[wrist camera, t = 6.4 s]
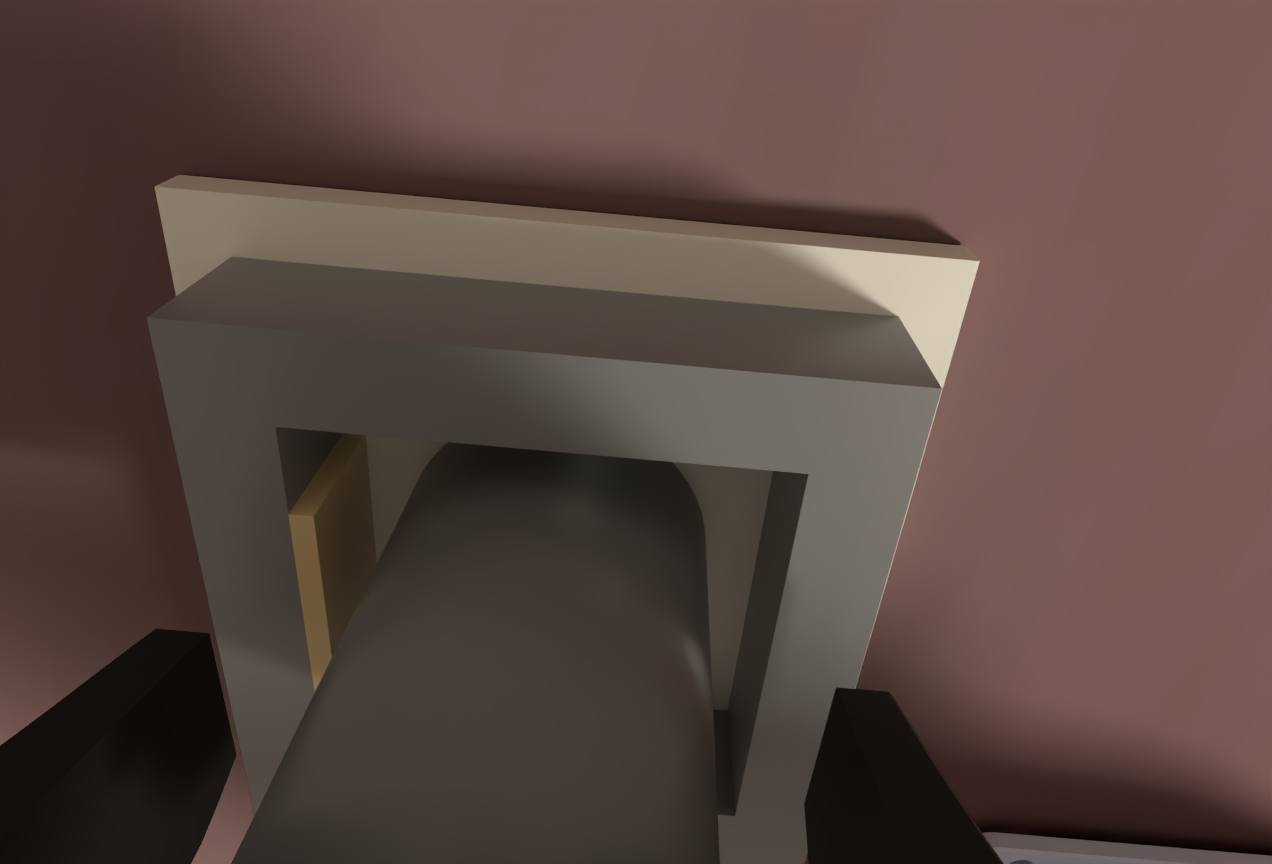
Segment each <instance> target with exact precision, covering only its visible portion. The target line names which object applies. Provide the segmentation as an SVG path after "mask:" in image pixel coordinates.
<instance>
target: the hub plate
mask: <svg viewBox="0 0 1272 864" xmlns="http://www.w3.org/2000/svg"><path fill="white" fill-rule="evenodd" d="M155 192H156V197H157V202H158V207H159V212H160V217H161V222H162V227H163V233H164V238H165V243H166V248H167V253H168V258H169V263H170V268H171V273H172V278H173V283H174V289H175V294H176V297H174V298H173V299H172V300H170V301H169V302H168V303H166V304H165V305H163V306H162V307H161V308H159V309H158V310H156V311H155V312H154V313H152V314H151V315H149V316H148V317H147V323H148V327H149V332H150V336H151V341H152V346H153V350H154V355H155V359H156V364H157V369H158V373H159V378H160V382H161V387H162V392H163V396H164V401H165V405H166V410H167V415H168V419H169V424H170V428H171V433H172V438H173V442H174V447H175V451H176V456H177V461H178V465H179V470H180V474H181V479H182V484H183V488H184V493H185V497H186V502H187V507H188V511H189V516H190V520H191V525H192V530H193V534H194V539H195V543H196V548H197V553H198V557H199V562H200V566H201V571H202V576H203V580H204V585H205V589H206V594H207V599H208V603H209V608H210V612H211V617H212V622H213V626H214V631H215V635H216V640H217V645H218V649H219V654H220V658H221V663H222V668H223V672H224V677H225V681H226V686H227V691H228V695H229V700H230V704H231V709H232V713H233V718H234V723H235V727H236V732H237V736H238V741H239V746H240V750H241V755H242V759H243V764H244V769H245V773H246V778H247V782H248V787H249V792H250V796H251V801H252V805H253V810H254V815H255V814H256V812H257V810H258V808H259V806H260V804H261V802H262V800H263V798H264V796H265V794H266V792H267V790H268V787H269V785H270V783H271V781H272V779H273V777H274V775H275V773H276V771H277V769H278V767H279V765H280V763H281V761H282V759H283V757H284V755H285V753H286V750H287V748H288V746H289V744H290V742H291V740H292V738H293V736H294V734H295V732H296V730H297V728H298V726H299V724H300V722H301V720H302V718H303V716H304V713H305V711H306V709H307V707H308V705H309V703H310V701H311V699H312V697H313V695H314V693H315V691H316V689H317V687H318V685H319V683H320V681H321V679H322V676H323V674H324V672H325V670H326V668H327V666H328V664H329V662H330V660H331V658H332V656H333V654H334V652H335V650H336V648H337V646H338V644H339V642H340V639H341V637H342V635H343V633H344V631H345V629H346V627H347V625H348V623H349V621H350V619H351V617H352V615H353V613H354V611H355V609H356V607H357V605H358V602H359V600H360V598H361V596H362V594H363V592H364V590H365V588H366V586H367V584H368V582H369V580H370V578H371V576H372V574H373V572H374V570H375V568H376V565H377V563H378V561H379V559H380V557H381V555H382V553H383V551H384V549H385V547H386V545H387V543H388V541H389V539H390V537H391V535H392V533H393V531H394V529H395V526H396V524H397V522H398V520H399V518H400V516H401V514H402V512H403V510H404V508H405V506H406V504H407V502H408V500H409V498H410V496H411V494H412V492H413V489H414V487H415V485H416V483H417V481H418V479H419V477H420V475H421V473H422V472H423V470H424V469H425V467H426V466H427V464H428V463H429V461H430V460H431V459H432V458H433V457H434V456H435V455H436V453H437V452H438V451H439V450H440V449H441V448H442V447H443V446H444V445H446V444H447V443H448V442H452V443H463V444H474V445H486V446H497V447H508V448H520V449H531V450H542V451H554V452H565V453H576V454H588V455H599V456H610V457H622V458H633V459H644V460H656V461H667V462H672V463H673V464H674V465H675V466H676V467H677V468H678V469H679V471H680V472H681V473H682V475H683V476H684V478H685V479H686V480H687V482H688V483H689V485H690V487H691V489H692V491H693V493H694V494H695V496H696V498H697V501H698V504H699V507H700V510H701V513H702V516H703V522H704V527H705V540H706V562H707V585H708V607H709V630H710V652H711V674H712V697H713V719H714V742H715V764H716V787H717V809H718V831H719V854H720V864H804V863H805V860H806V856H807V853H808V849H807V835H806V822H805V808H804V802H805V799H806V795H807V791H808V788H809V784H810V780H811V777H812V773H813V769H814V766H815V762H816V758H817V755H818V751H819V748H820V744H821V740H822V737H823V733H824V729H825V726H826V722H827V718H828V715H829V711H830V707H831V704H832V700H833V696H834V693H835V689H836V687H838V688H849V689H856V686H857V682H858V679H859V675H860V672H861V668H862V665H863V661H864V658H865V655H866V651H867V648H868V644H869V641H870V637H871V634H872V630H873V627H874V624H875V620H876V617H877V613H878V610H879V606H880V603H881V599H882V596H883V593H884V589H885V586H886V582H887V579H888V575H889V572H890V568H891V565H892V562H893V558H894V555H895V551H896V548H897V544H898V541H899V537H900V534H901V531H902V527H903V524H904V520H905V517H906V513H907V510H908V506H909V503H910V500H911V496H912V493H913V489H914V486H915V482H916V479H917V475H918V472H919V469H920V465H921V462H922V458H923V455H924V451H925V448H926V444H927V441H928V438H929V434H930V431H931V427H932V424H933V420H934V417H935V413H936V410H937V407H938V403H939V400H940V396H941V393H942V389H943V386H944V382H945V379H946V376H947V372H948V369H949V365H950V362H951V358H952V355H953V351H954V348H955V345H956V341H957V338H958V334H959V331H960V327H961V324H962V320H963V317H964V314H965V310H966V307H967V303H968V300H969V296H970V293H971V289H972V286H973V283H974V279H975V276H976V272H977V269H978V265H979V262H980V261H979V260H978V259H977V258H976V257H975V256H974V255H973V254H972V253H971V252H970V251H969V250H968V249H967V247H966V246H960V245H949V244H938V243H927V242H916V241H905V240H894V239H883V238H872V237H861V236H850V235H839V234H828V233H817V232H806V231H794V230H783V229H772V228H761V227H750V226H739V225H728V224H717V223H706V222H695V221H684V220H673V219H662V218H651V217H640V216H629V215H618V214H607V213H596V212H585V211H574V210H563V209H552V208H541V207H530V206H519V205H508V204H497V203H486V202H475V201H464V200H453V199H441V198H430V197H419V196H408V195H397V194H386V193H375V192H364V191H353V190H342V189H331V188H320V187H309V186H298V185H287V184H276V183H265V182H254V181H243V180H232V179H221V178H210V177H199V176H188V175H178V176H176V177H173V178H171V179H169V180H167V181H165V182H163V183H161V184H159V185H157V186H155Z"/></svg>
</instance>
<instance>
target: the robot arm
mask: <svg viewBox="0 0 1272 864" xmlns="http://www.w3.org/2000/svg"><path fill="white" fill-rule="evenodd" d="M235 757H236V752H235V747H234V743H233V738H232V734H231V729H230V725H229V720H228V716H227V711H226V707H225V702H224V698H223V693H222V689H221V684H220V680H219V675H218V671H217V666H216V662H215V657H214V653H213V648H212V644H211V639H210V635H209V633H199V632H187V631H176V630H164V629H155V630H154V631H152V632H151V633H150V634H148V635H147V636H146V637H144V638H143V639H141V640H140V641H139V642H137V643H136V644H135V645H133V646H132V647H131V648H129V649H128V650H127V651H125V652H124V653H123V654H121V655H120V656H119V657H117V658H116V659H115V660H113V661H112V662H111V663H109V664H108V665H107V666H105V667H104V668H103V669H102V670H100V671H99V672H98V673H96V674H95V675H94V676H92V677H91V678H90V679H88V680H87V681H86V682H85V683H83V684H82V685H81V686H79V687H78V688H77V689H75V690H74V691H73V692H71V693H70V694H69V695H67V696H66V697H65V698H64V699H62V700H61V701H60V702H58V703H57V704H56V705H54V706H53V707H52V708H50V709H49V710H48V711H46V712H45V713H44V714H42V715H41V716H40V717H38V718H37V719H36V720H34V721H33V722H32V723H30V724H29V725H28V726H26V727H25V728H24V729H22V730H21V731H20V732H18V733H17V734H16V735H14V736H13V737H11V738H10V739H9V740H7V741H6V742H5V743H3V744H2V745H1V746H0V864H191V862H192V861H193V859H194V857H195V855H196V853H197V851H198V849H199V847H200V845H201V843H202V841H203V838H204V836H205V833H206V831H207V829H208V826H209V824H210V821H211V819H212V816H213V814H214V812H215V809H216V807H217V804H218V802H219V799H220V797H221V794H222V791H223V789H224V786H225V784H226V781H227V778H228V776H229V773H230V770H231V768H232V765H233V763H234V760H235ZM804 808H805V822H806V835H807V849H808V861H809V864H1272V856H1270V855H1258V854H1246V853H1235V852H1223V851H1211V850H1199V849H1187V848H1176V847H1164V846H1152V845H1140V844H1128V843H1117V842H1105V841H1093V840H1081V839H1069V838H1058V837H1046V836H1034V835H1022V834H1010V833H999V832H984V833H982V832H981V831H980V829H979V828H978V826H977V825H976V823H975V822H974V820H973V819H972V817H971V816H970V814H969V813H968V812H967V810H966V809H965V807H964V806H963V804H962V803H961V801H960V800H959V798H958V797H957V795H956V794H955V792H954V791H953V789H952V787H951V786H950V784H949V783H948V781H947V780H946V778H945V777H944V775H943V774H942V772H941V771H940V769H939V768H938V766H937V765H936V763H935V761H934V760H933V758H932V757H931V755H930V754H929V752H928V751H927V749H926V747H925V746H924V744H923V743H922V741H921V740H920V738H919V736H918V735H917V733H916V732H915V730H914V728H913V727H912V725H911V724H910V722H909V721H908V719H907V717H906V716H905V714H904V713H903V711H902V709H901V708H900V706H899V705H898V703H897V701H896V700H895V699H894V697H893V696H892V695H891V694H890V693H889V692H884V691H873V690H861V689H849V688H838V687H836V689H835V693H834V696H833V700H832V704H831V707H830V711H829V715H828V718H827V722H826V726H825V729H824V733H823V737H822V740H821V744H820V748H819V751H818V755H817V758H816V762H815V766H814V769H813V773H812V777H811V780H810V784H809V788H808V791H807V795H806V799H805V802H804Z"/></svg>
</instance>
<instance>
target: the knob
mask: <svg viewBox="0 0 1272 864" xmlns="http://www.w3.org/2000/svg"><path fill="white" fill-rule="evenodd" d="M231 864H720V854H719V831H718V809H717V787H716V764H715V742H714V719H713V697H712V674H711V652H710V630H709V607H708V585H707V562H706V540H705V527H704V522H703V516H702V513H701V510H700V507H699V504H698V501H697V498H696V496H695V494H694V493H693V491H692V489H691V487H690V485H689V483H688V482H687V480H686V479H685V478H684V476H683V475H682V473H681V472H680V471H679V469H678V468H677V467H676V466H675V465H674V464H673V463H672V462H667V461H656V460H644V459H633V458H622V457H610V456H599V455H588V454H576V453H565V452H554V451H542V450H531V449H520V448H508V447H497V446H486V445H474V444H463V443H452V442H448V443H447V444H446V445H444V446H443V447H442V448H441V449H440V450H439V451H438V452H437V453H436V455H435V456H434V457H433V458H432V459H431V460H430V461H429V463H428V464H427V466H426V467H425V469H424V470H423V472H422V473H421V475H420V477H419V479H418V481H417V483H416V485H415V487H414V489H413V492H412V494H411V496H410V498H409V500H408V502H407V504H406V506H405V508H404V510H403V512H402V514H401V516H400V518H399V520H398V522H397V524H396V526H395V529H394V531H393V533H392V535H391V537H390V539H389V541H388V543H387V545H386V547H385V549H384V551H383V553H382V555H381V557H380V559H379V561H378V563H377V565H376V568H375V570H374V572H373V574H372V576H371V578H370V580H369V582H368V584H367V586H366V588H365V590H364V592H363V594H362V596H361V598H360V600H359V602H358V605H357V607H356V609H355V611H354V613H353V615H352V617H351V619H350V621H349V623H348V625H347V627H346V629H345V631H344V633H343V635H342V637H341V639H340V642H339V644H338V646H337V648H336V650H335V652H334V654H333V656H332V658H331V660H330V662H329V664H328V666H327V668H326V670H325V672H324V674H323V676H322V679H321V681H320V683H319V685H318V687H317V689H316V691H315V693H314V695H313V697H312V699H311V701H310V703H309V705H308V707H307V709H306V711H305V713H304V716H303V718H302V720H301V722H300V724H299V726H298V728H297V730H296V732H295V734H294V736H293V738H292V740H291V742H290V744H289V746H288V748H287V750H286V753H285V755H284V757H283V759H282V761H281V763H280V765H279V767H278V769H277V771H276V773H275V775H274V777H273V779H272V781H271V783H270V785H269V787H268V790H267V792H266V794H265V796H264V798H263V800H262V802H261V804H260V806H259V808H258V810H257V812H256V814H255V816H254V818H253V820H252V822H251V824H250V827H249V829H248V831H247V833H246V835H245V837H244V839H243V841H242V843H241V845H240V847H239V849H238V851H237V853H236V855H235V857H234V859H233V861H232V863H231Z"/></svg>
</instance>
